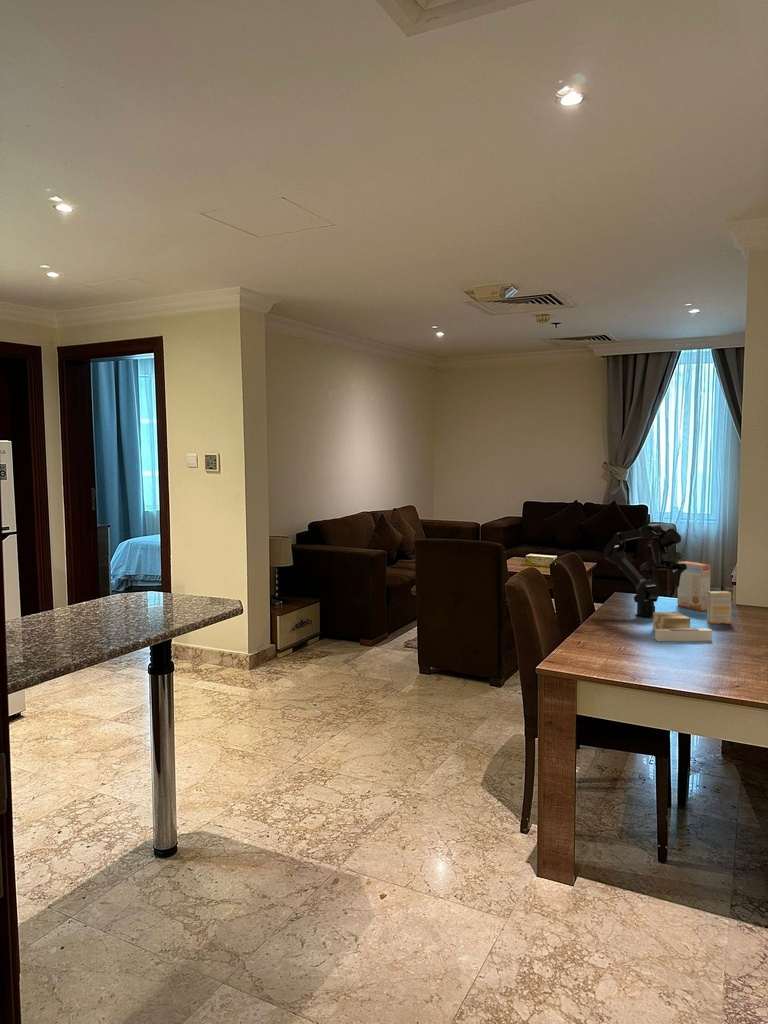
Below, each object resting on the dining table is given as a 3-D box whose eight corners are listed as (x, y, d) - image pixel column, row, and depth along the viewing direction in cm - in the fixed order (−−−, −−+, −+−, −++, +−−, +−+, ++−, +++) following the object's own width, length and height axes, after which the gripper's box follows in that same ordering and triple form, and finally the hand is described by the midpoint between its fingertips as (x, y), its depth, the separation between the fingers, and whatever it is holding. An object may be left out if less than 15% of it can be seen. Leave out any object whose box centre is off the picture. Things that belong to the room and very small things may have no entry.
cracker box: (710, 610, 321) (711, 564, 320) (700, 611, 319) (701, 565, 317) (686, 605, 334) (687, 560, 333) (676, 606, 332) (677, 561, 330)
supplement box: (726, 621, 299) (727, 590, 298) (731, 624, 294) (732, 592, 293) (706, 621, 300) (706, 590, 299) (710, 624, 295) (711, 592, 294)
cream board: (655, 639, 271) (655, 628, 271) (708, 638, 271) (708, 627, 270) (657, 641, 268) (658, 629, 268) (711, 640, 267) (712, 629, 267)
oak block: (652, 629, 288) (653, 612, 287) (677, 629, 288) (678, 612, 287) (663, 636, 276) (664, 618, 275) (689, 636, 276) (690, 618, 275)
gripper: (650, 543, 293) (658, 579, 287) (690, 545, 298) (699, 580, 291) (636, 554, 303) (643, 588, 297) (675, 555, 307) (683, 589, 301)
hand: (668, 586), depth 296 cm, fingers open, 9 cm apart
